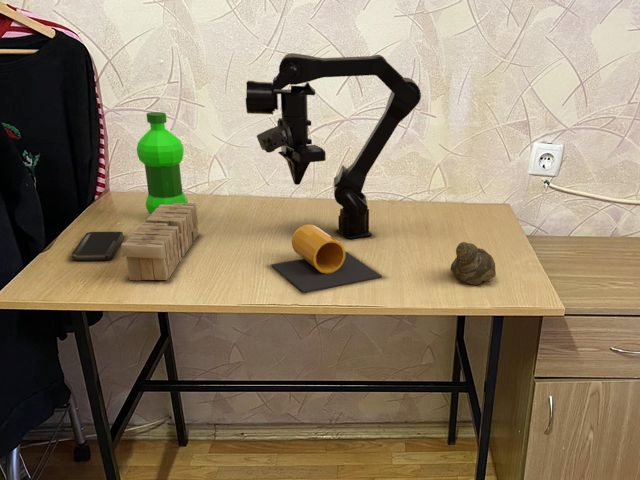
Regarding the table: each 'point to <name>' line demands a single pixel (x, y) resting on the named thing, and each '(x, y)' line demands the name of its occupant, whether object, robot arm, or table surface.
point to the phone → (98, 246)
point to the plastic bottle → (161, 163)
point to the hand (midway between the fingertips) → (297, 184)
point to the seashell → (473, 264)
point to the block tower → (161, 241)
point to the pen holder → (318, 248)
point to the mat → (315, 280)
